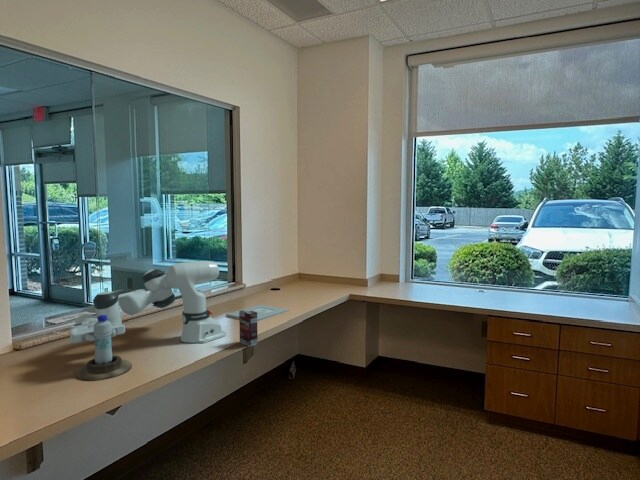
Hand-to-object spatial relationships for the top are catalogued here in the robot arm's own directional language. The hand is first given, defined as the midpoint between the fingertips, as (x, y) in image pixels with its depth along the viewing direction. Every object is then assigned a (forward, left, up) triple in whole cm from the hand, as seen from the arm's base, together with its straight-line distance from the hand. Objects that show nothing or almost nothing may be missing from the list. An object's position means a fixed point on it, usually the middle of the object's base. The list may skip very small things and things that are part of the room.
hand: (103, 336), depth 166 cm
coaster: (0, -1, -14) cm, 14 cm away
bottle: (0, -1, -11) cm, 12 cm away
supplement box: (-61, +11, -14) cm, 64 cm away
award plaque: (-97, -32, -15) cm, 103 cm away
